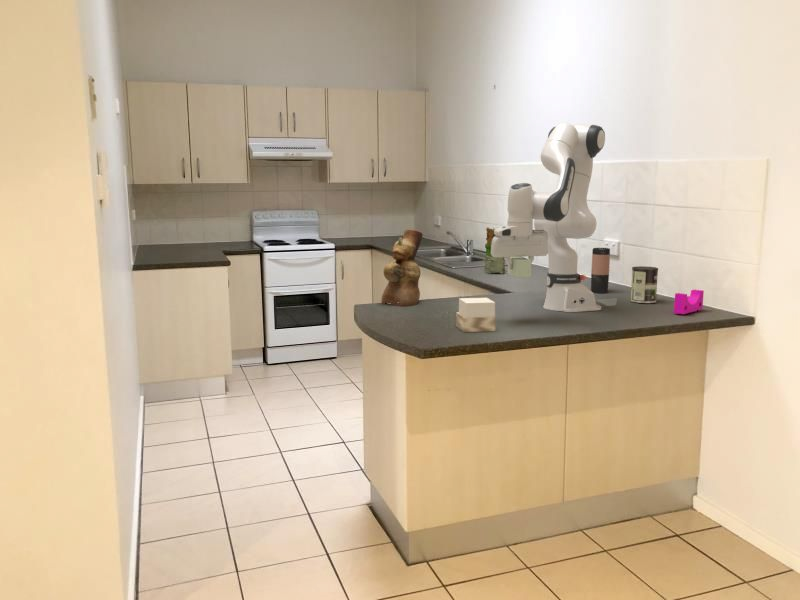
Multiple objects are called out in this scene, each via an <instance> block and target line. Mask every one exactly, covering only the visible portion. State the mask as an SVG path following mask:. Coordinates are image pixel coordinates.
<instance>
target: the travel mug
mask: <svg viewBox="0 0 800 600" xmlns="http://www.w3.org/2000/svg"><path fill="white" fill-rule="evenodd" d="M591 257H592V258H591V271H590V272H591V273H590V274H591V275H590V277H591V278H590V279H591V280H590V290H591V291H592V292H593V293H594V294H601V295H603V294H604V295H605V294H608V290H609V281H610V265H611V264H610V263H611V262H610V261H611V260H610V259H611V248H609V247H593V248H592V255H591Z"/></svg>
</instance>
